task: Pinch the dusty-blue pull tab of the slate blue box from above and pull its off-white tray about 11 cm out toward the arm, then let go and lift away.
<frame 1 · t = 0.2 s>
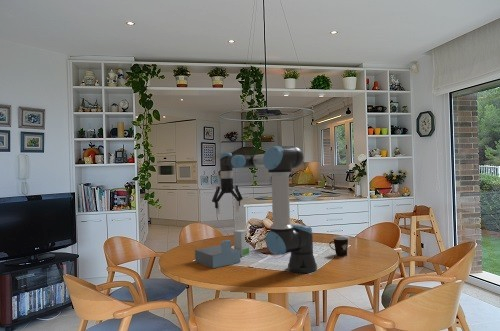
hand: (228, 212, 216), 28 cm above the table, tool pointing down, fingers open, 13 cm apart
slate blue box: (217, 261, 206), on the table
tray: (217, 250, 205), point 7 cm above the table, slide at 0.0 cm
coffee mug: (338, 255, 212), on the table
skincare box: (241, 255, 221), on the table
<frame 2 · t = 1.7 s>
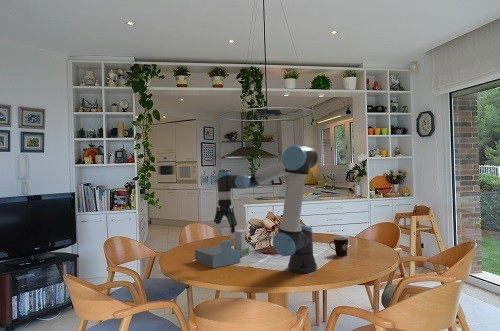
hand: (225, 236, 198), 16 cm above the table, tool pointing down, fingers open, 13 cm apart
nothing on the table moved.
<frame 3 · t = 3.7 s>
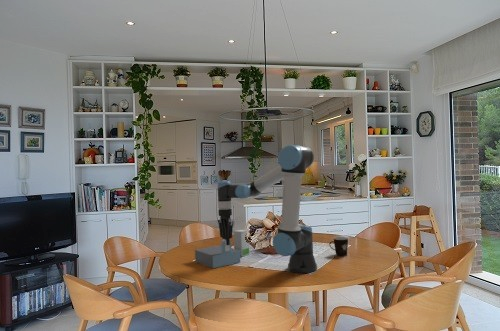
hand: (226, 250, 198), 8 cm above the table, tool pointing down, fingers closed on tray
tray: (217, 250, 205), point 7 cm above the table, slide at 0.0 cm, touching gripper
everything else where it was.
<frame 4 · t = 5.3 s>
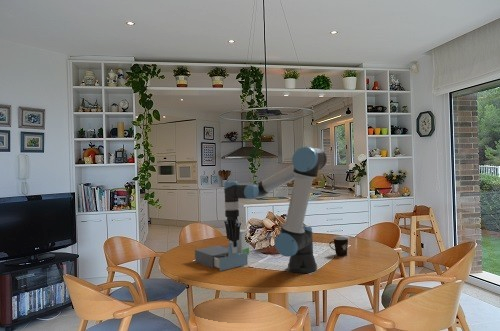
hand: (233, 252, 192), 8 cm above the table, tool pointing down, fingers closed on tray
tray: (224, 252, 200), point 7 cm above the table, slide at 7.0 cm, touching gripper
everything else where it was.
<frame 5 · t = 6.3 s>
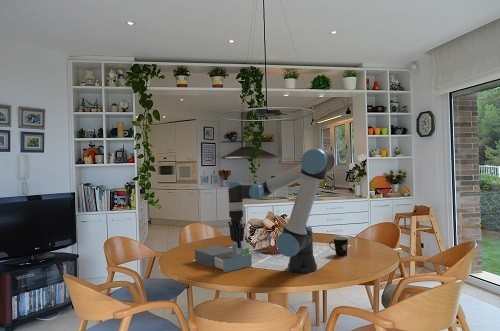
hand: (237, 253, 189), 8 cm above the table, tool pointing down, fingers closed on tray
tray: (228, 253, 197), point 7 cm above the table, slide at 10.9 cm, touching gripper
everything else where it was.
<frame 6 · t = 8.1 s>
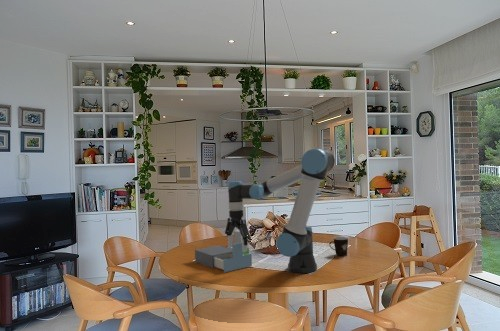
hand: (237, 249, 189), 11 cm above the table, tool pointing down, fingers open, 13 cm apart
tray: (228, 253, 197), point 7 cm above the table, slide at 11.0 cm
everything else where it was.
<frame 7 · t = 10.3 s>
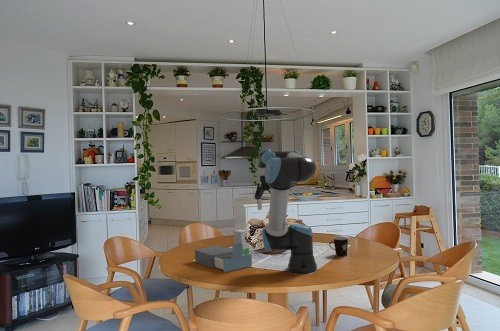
hand: (267, 210, 210), 29 cm above the table, tool pointing down, fingers open, 13 cm apart
nothing on the table moved.
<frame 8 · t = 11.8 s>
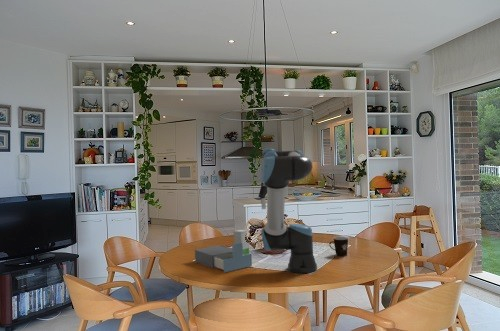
hand: (270, 209, 213), 29 cm above the table, tool pointing down, fingers open, 13 cm apart
nothing on the table moved.
at the end: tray slide at 11.0 cm; skincare box moved 0.2 cm from its start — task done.
